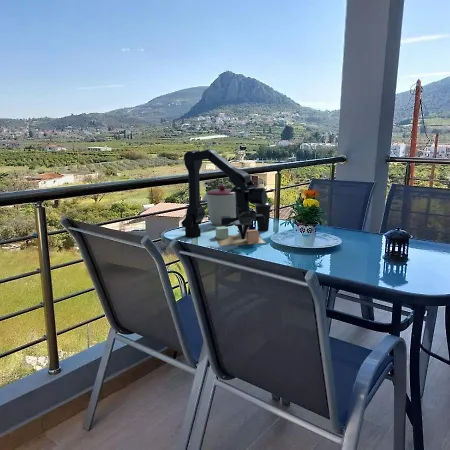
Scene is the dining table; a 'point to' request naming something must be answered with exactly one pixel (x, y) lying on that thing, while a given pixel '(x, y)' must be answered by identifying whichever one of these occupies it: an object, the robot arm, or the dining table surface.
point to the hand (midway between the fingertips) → (242, 239)
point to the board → (236, 241)
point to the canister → (221, 204)
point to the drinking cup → (265, 211)
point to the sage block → (222, 232)
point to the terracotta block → (252, 236)
